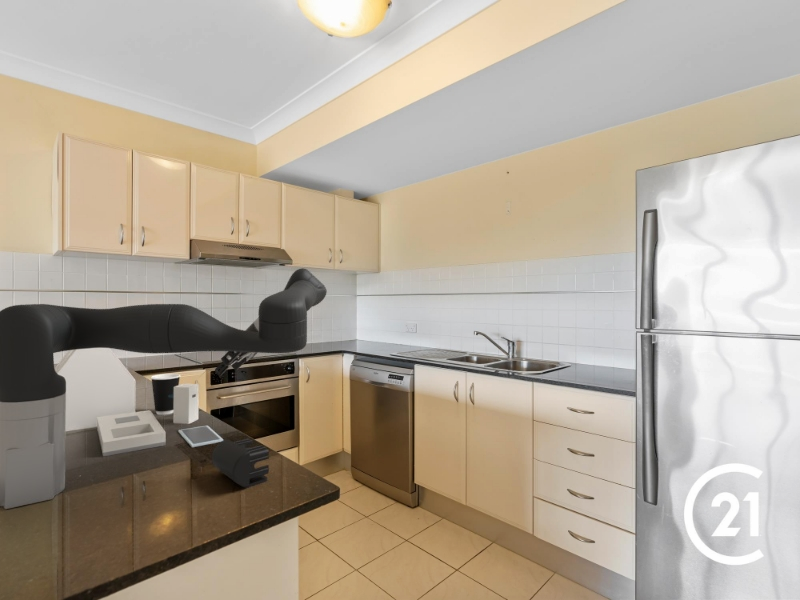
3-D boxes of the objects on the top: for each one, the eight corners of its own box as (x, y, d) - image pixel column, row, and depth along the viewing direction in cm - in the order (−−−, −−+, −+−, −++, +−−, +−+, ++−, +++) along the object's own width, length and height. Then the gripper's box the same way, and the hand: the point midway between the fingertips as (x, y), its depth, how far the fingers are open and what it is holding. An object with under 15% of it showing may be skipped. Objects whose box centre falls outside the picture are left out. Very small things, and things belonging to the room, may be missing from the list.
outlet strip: (165, 445, 99) (165, 431, 99) (103, 456, 91) (103, 442, 91) (149, 420, 118) (149, 409, 118) (96, 428, 110) (97, 416, 110)
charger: (198, 419, 120) (199, 384, 120) (188, 423, 115) (189, 387, 115) (183, 418, 120) (183, 383, 120) (173, 423, 116) (173, 386, 116)
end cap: (211, 476, 82) (211, 442, 82) (246, 466, 87) (246, 434, 87) (232, 494, 75) (233, 456, 75) (269, 482, 80) (270, 446, 80)
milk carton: (45, 434, 105) (46, 335, 105) (45, 420, 117) (46, 330, 117) (135, 421, 118) (136, 331, 118) (127, 409, 129) (128, 328, 129)
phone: (223, 443, 102) (223, 439, 102) (191, 449, 98) (192, 444, 98) (207, 429, 113) (207, 425, 113) (178, 433, 109) (178, 429, 109)
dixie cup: (179, 414, 124) (179, 377, 124) (148, 417, 121) (148, 379, 121) (181, 408, 131) (181, 372, 131) (152, 410, 128) (152, 374, 128)
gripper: (263, 342, 108) (220, 385, 109) (285, 337, 122) (247, 375, 123) (244, 321, 108) (201, 364, 110) (267, 318, 122) (230, 356, 124)
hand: (225, 370), depth 117 cm, fingers open, 8 cm apart
